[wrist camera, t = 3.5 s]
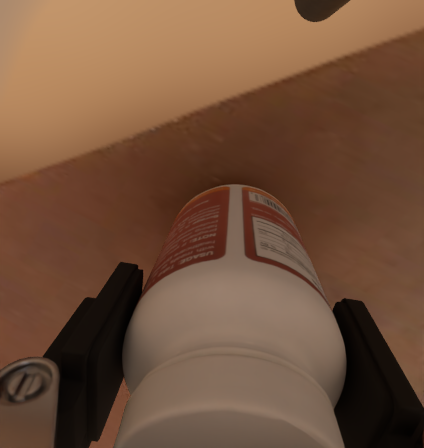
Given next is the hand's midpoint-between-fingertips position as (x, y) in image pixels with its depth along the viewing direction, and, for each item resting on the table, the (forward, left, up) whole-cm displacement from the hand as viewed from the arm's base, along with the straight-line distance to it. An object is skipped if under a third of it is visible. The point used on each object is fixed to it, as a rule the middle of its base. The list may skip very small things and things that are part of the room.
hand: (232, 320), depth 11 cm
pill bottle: (0, 0, -6) cm, 6 cm away
